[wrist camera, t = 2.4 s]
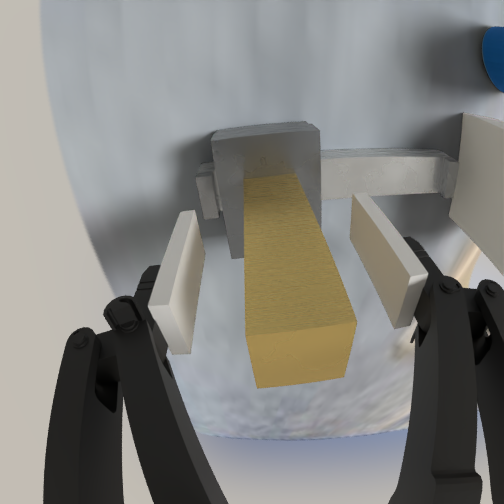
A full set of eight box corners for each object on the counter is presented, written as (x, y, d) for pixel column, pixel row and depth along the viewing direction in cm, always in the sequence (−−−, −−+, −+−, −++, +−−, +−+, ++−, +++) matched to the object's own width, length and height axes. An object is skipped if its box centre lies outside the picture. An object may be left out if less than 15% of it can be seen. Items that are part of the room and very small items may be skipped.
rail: (201, 163, 20) (195, 178, 18) (438, 149, 19) (459, 162, 17) (208, 200, 22) (204, 219, 19) (434, 182, 21) (453, 197, 19)
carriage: (216, 127, 18) (161, 266, 6) (305, 118, 18) (427, 237, 6) (233, 228, 23) (227, 417, 11) (309, 220, 23) (369, 398, 10)
